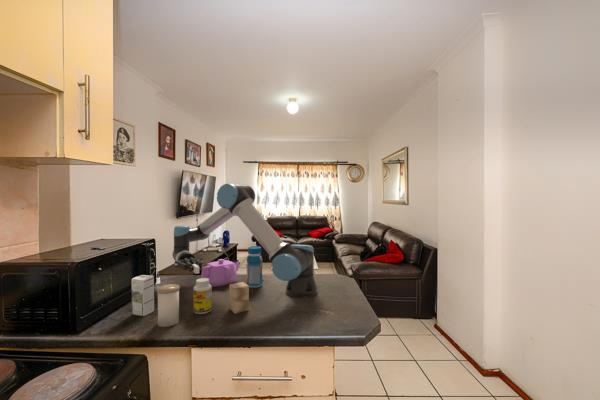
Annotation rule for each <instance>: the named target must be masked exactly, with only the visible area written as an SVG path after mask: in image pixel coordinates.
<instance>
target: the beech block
mask: <svg viewBox="0 0 600 400" xmlns="http://www.w3.org/2000/svg"><path fill="white" fill-rule="evenodd" d="M228 285H229V287H228V288H229V289H228V290H229V292H228V293H229V299H228V300H229V302H228V303H229V304H228V305H229V309H230V311H232V312H233V313H234V314H238V313H243V312H246V311H249V310H250V307H249V306H250V305H249V304H250V302H249V301H250V293H249V292H250V287H249V286H248V285H247V283H245V282H244V281H241V282H234V283H231V284H228Z"/></svg>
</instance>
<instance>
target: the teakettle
mask: <svg viewBox="0 0 600 400" xmlns="http://www.w3.org/2000/svg"><path fill="white" fill-rule="evenodd" d="M240 265H241V261H236V262H234V261H230V260H228V259H224V258H220V259H217V260H216V261H211V262H207V263H206V265H205V266H202V268H201V276H200V278H208V279H209V284H210V285H211V286H212V288H213V287H214V288H215V287H221V286H225V285H227V286H228V285H229V284H235V283H237V278H238V274H237V273H238V269H239V267H240Z"/></svg>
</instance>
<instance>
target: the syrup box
mask: <svg viewBox="0 0 600 400" xmlns="http://www.w3.org/2000/svg"><path fill="white" fill-rule="evenodd" d="M154 277H155V276H154V275H146V274H141V275H138V276H135V277H133V278H131V315H132V316H138V317H146V316H148V315H149V314H152V313H153V312H154V311H155V287H154V286H155V282H154V281H155V278H154Z"/></svg>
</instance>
